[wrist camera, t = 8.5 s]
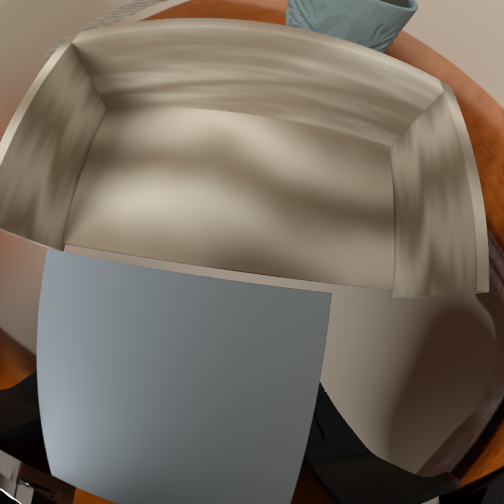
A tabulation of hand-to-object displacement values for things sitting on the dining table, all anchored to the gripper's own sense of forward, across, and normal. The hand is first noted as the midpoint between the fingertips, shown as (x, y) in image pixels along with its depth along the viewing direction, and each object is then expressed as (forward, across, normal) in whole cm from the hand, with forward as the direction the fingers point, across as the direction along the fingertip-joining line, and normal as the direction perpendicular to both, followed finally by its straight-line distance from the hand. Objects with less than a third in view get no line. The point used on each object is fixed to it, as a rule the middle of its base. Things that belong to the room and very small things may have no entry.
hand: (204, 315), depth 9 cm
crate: (+12, 0, 0) cm, 12 cm away
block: (+3, 0, +5) cm, 6 cm away
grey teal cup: (+23, -6, -11) cm, 26 cm away
